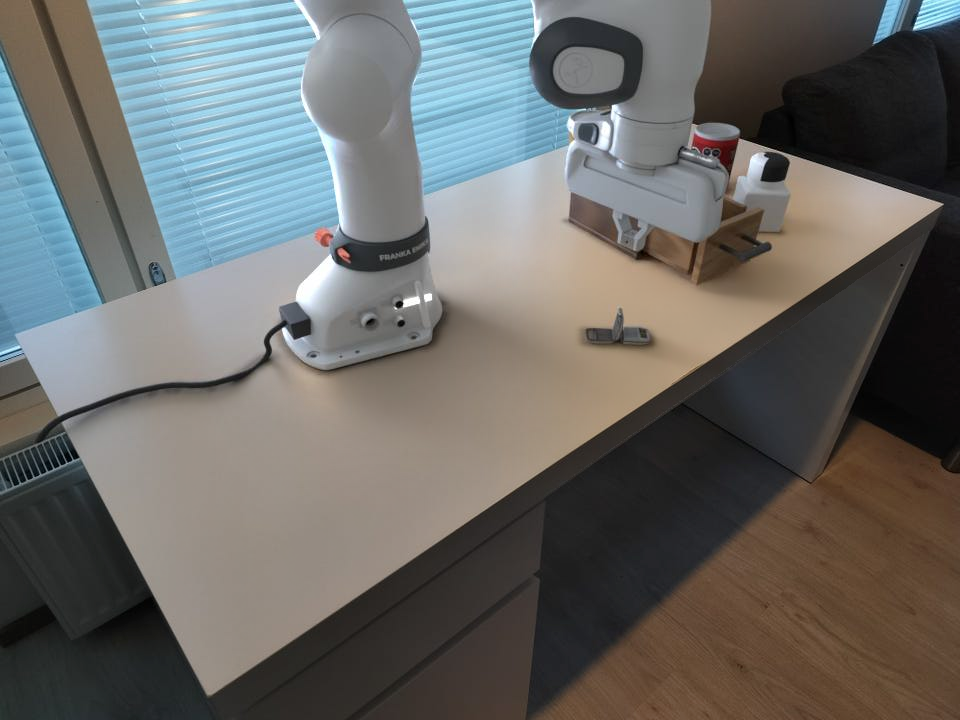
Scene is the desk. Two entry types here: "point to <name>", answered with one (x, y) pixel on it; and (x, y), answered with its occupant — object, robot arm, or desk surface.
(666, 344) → the desk surface
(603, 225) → the cabinet
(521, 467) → the desk surface
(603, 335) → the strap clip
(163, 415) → the desk surface
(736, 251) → the drawer
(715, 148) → the canned food
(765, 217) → the medicine bottle
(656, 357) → the desk surface
